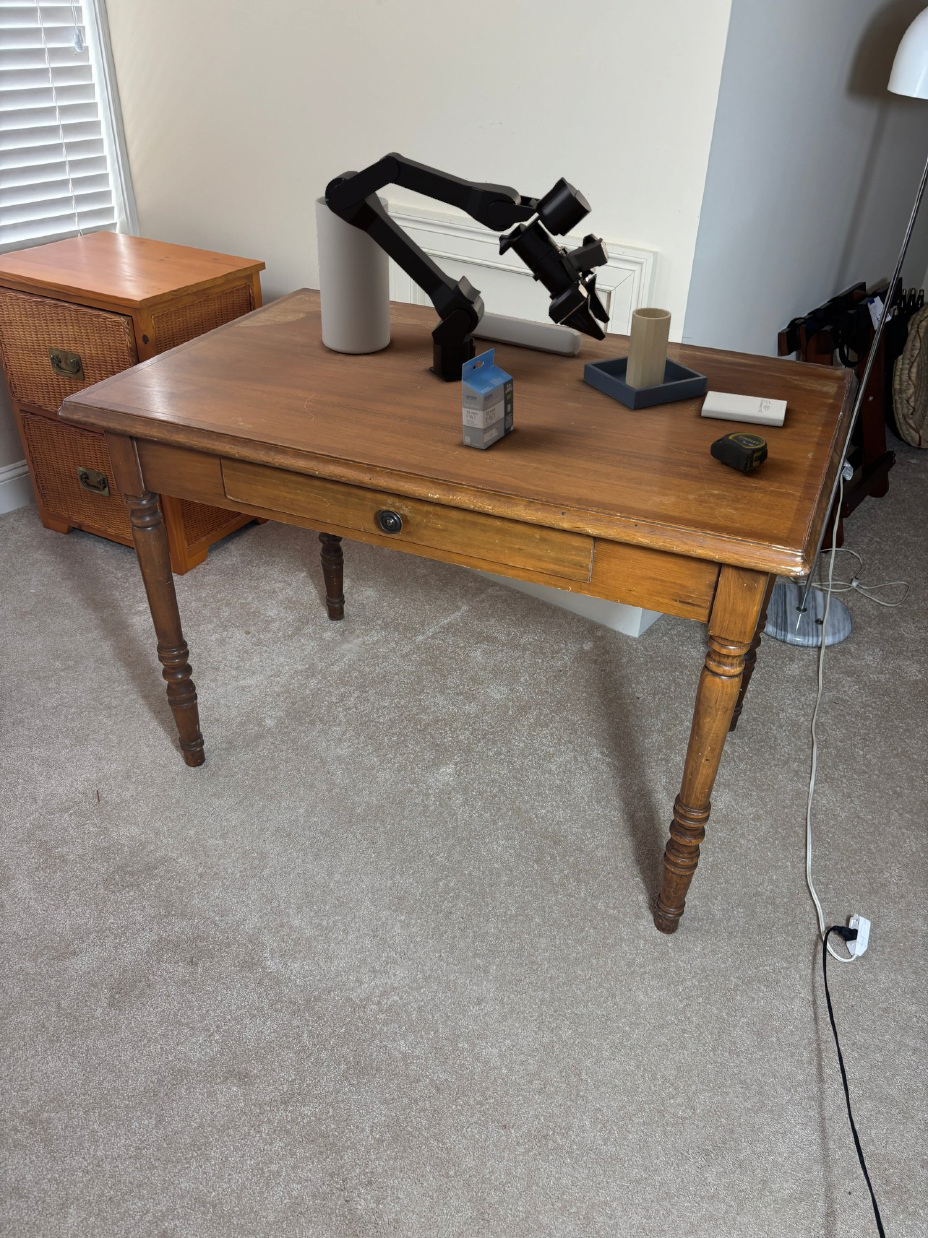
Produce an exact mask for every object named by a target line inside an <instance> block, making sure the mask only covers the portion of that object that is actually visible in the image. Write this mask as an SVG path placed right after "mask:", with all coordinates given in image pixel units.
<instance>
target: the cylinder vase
mask: <svg viewBox="0 0 928 1238" xmlns="http://www.w3.org/2000/svg"><path fill="white" fill-rule="evenodd" d="M378 197H379V200H380V202H381V204H382V206H383V208H384V210H385V212H386V213H387V214H388V215H389V200H388V199H387V198H385V197H382V196H379V195H378ZM314 203H315V220H316V223H315V224H316V239H317V241H316V242H317V260H318V278H319V279H318V280H319V281H318V282H319V299H320V315H321V316H320V317H321V335H322V343H323V345H325V347H327V348H328V349H330V350H332V351H334V352H339V353H344V354H355V355H356V354H357V355H358V354H367V353H368V354H369V353H374V352H378V351H381V350H383V349H384V348H385V349H386V347H387V346H389V344H390V342H391V308H390V307H391V303H390V299H391V298H390V256H389V255H388V254H387V253H386V252H385V251H384V250H383V249H382V248H381V247H380V246H379V245H378V244H377V243H376V242H375V241H374V240H373V239H372V238H371V237H370V236H369V235H368V234H367V233H366V232H364V231H362V230H360V229H358V228H356V227H354V226H352V225H350V224H348V223H347V222H345V221H344V220H342V219H341V218H340V217H338V216H337V215H336V214H334V213H333V212H332V211H331V210H330V209H329V208H328V206H327V204H326V202H325V195H323V196H319V197H316V199H315V200H314Z"/></svg>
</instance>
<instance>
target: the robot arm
mask: <svg viewBox="0 0 928 1238" xmlns="http://www.w3.org/2000/svg"><path fill="white" fill-rule="evenodd" d="M390 184H393V185H395V186H398V187H401V188H404V189H407V190H409V191H412V192H414V193H417V194H420V195H423V196H425V197H428V198H430V199H434V200H436V201H439V202H441V203H444V204H447V205H449V206H452V207H455V208H457V209H460V210H461V211H463V212H465V213H466V214H467V215H468V216H469V217H471V218H472V219H473V220H474V221H476V222H478V223H479V224H481V225H483V226H484V227H486V228H488V229H490V230H491V231H493V232H497V233H502V232H506V231H508V230H510V229H511V228H512V227H513V226H514V225H515V224H518V225H517V226H515V227H514V228H513V229H512V230H511V232H509V233H508V234H503V233H502V234H500V235H499V237H498V241H499V242H498V243H499V249H498V255H499V256H504V255H505V253H507V252H508V251H509V250H510V249H512V250H513V252H514V253H515V254H516V255H517V256H518V257H519V259H520V260H521V261H522V263H524V265H525V266H526V267H527V268H528V269H529V270H530V272H532V274H533V275H532V277H531V278H532V279H533V281H535V283H537V282H538V281H539V282H540V283H541V284H542V286H543V287H544V288H545V289H546V290H547V291H548V292H549V296H548V298H549V299H550V300H551V302H550V304H549V306H548V317H549V318H550V320H551V321H553V323H554V325H558V324H559V326H563V327H567V328H572V329H575V330H577V331H578V332H579V333H581V334H584V335H586V336H589V337H590V338H593V339H595V340H596V341H597V340H598V341H599V342H600V341H601V342H602V341H603V340H604V339H605V338H606V337H607V336H606V333H605V332H604V330H603V328H602V327H601V325H600V323H599V322H601V323H603V324H605V325H606V324H607V323H609V322H610V321H611V318H610V316H609V314H608V312H607V309H606V308H605V306H604V303H603V301H602V300H601V297H600V295H599V293H598V291H597V288H596V286H597V277H598V274H597V273H596V271H597V270H596V268H597V267H599V268H601V267H603V266H605V265H607V264H608V263H609V259H610V255H609V252H608V250H607V247H606V246H607V244H606V242H605V241H604V238H602V237H599V238H598V237H597V236H596V235H595V234H594V233H590V234H587V235H585V236H583V239H582V245H581V246H578V247H576V248H575V249H572V250H569V249H568V247H567V246H565V245H561V246H560V245H559V244H558V243H557V242H556V241H555V239H553V237H557V236H559V235H560V236H561V237H565V236H567V235H568V234H569V233H570V232H571V231H572V230H573V229H574V228H575V227H576V226H578V224H580V223H581V222H582V221H583V220H584V219H585V218H587V216H588V215H589V214H590V213H591V212H593V211H592V210H593V209H592V207H591V204H590V203H589V201H588V199H587V198H586V197H585V196H584V194H583V193H582V192H581V191H580V190H579V189H577V188H576V187H575V186H574V185H573V184H571V183H570V182H568V180H567V179H566V178H565V177H564V176H561V177H560V178H559V179H558V180H557V181H556V182H555V183H554V185H553V186H552V188H551V189H550V190H548V192H547V193H545V195H543V196H542V197H541V198H538V197H532V196H528V195H523V194H520V193H519V192H518V190H517V189H516V188H514V187H512V186H509V185H503V184H497V183H494V182H493V183H492V182H479V181H473V180H472V181H471V180H467V179H464V178H462V177H459V176H456V175H454V174H452V173H448V172H446V171H444V170H440V169H438V168H435V167H432V166H430V165H427V164H425V163H422V162H419V161H416V160H414V159H411V158H408V157H405V156H404V155H402V154H401V153H399V152H396V151H392V152H391V151H390V152H388V153H386V154H385V155H384V156H382V157H381V158H379V160H377V161H376V162H374V163H372V164H370V165H369V166H367V167H366V168H364V169H361V170H360V171H357V170H347V171H345V172H342V173H341V174H339V175H337V176H336V177H334V178H332V179H331V180H330V181H329V182H328V183H327V184H326V187H325V191H324V196H325V202H326V204H327V206H328V208H329V209H330V210H331V211H332V212H333V213H334V214H336V215H337V216H338V217H340V218H341V219H342V220H344V221H345V222H347V223H348V224H350V225H352V226H354V227H356V228H358V229H360V230H362V231H364V232H366V233H367V234H368V235H369V236H370V237H371V238H372V239H373V240H374V241H375V242H376V243H377V244H378V245H379V246H380V247H381V248H382V249H383V250H384V251H385V252H386V253H387V254H388V255H389V258H391V260H393V261H394V262H395V263H396V264H397V265H398V267H399V268H401V270H402V271H404V272H405V274H407V276H408V277H409V278H410V279H411V280H412V281H414V283H415V284H416V285H417V286H418V287H420V289H421V290H422V291H423V292H424V293H425V294H426V295H427V296H428V297H429V299H430V301H431V303H432V306H433V308H434V310H435V312H436V314H437V315H438V317H439V318H440V319H439V321H438V323H437V324H436V326H435V327H434V329H433V330H432V331H431V337H432V353H433V354H432V359H433V360H432V366H429V367H428V370H429V371H430V372H431V373H432V374H434V375H435V376H437V377H438V378H440V379H441V380H443V381H445V382H449V381H454V380H460V379H461V380H462V369H463V364H464V363H466V362H468V361H470V360H472V359H473V358H475V357H477V356H476V355H477V353H476V352H477V351H476V350H477V346H476V345H475V344H474V336H470V335H468V334H470V333H472V332H473V331H474V330H475V329H476V327H477V326H478V324H479V322H480V321H481V319H482V317H483V315H484V311H485V302H484V299H483V298H482V296H481V295H482V294H481V293H482V291H481V290H479V289H477V288H476V287H474V286H473V285H472V283H471V281H469V279H468V278H467V277H466V275H462V276H461V278H460V279H459V280H457V279H455V278H453V277H451V276H449V275H447V273H445V271H444V270H442V269H441V267H440V266H439V265H438V264H437V263H436V262H435V261H434V260H433V259H432V258H431V257H430V256H429V255H428V254H427V253H426V252H425V251H424V250H423V249H422V248H421V247H420V246H419V245H418V244H417V243H416V242H415V241H414V239H412V237H410V235H409V234H408V233H407V232H405V230H403V228H402V227H401V226H400V225H399V224H398V223H397V222H396V221H395V220H394V219H393V218H392V217H391V216H390V215H389V213H388V214H387V213H386V212H385V210H384V208H383V206H382V204H381V202H380V200H379V197H380V196H379V195H378V193H377V192H378V191H379V190H381V189H382V188H385V187H387V186H388V185H390ZM378 196H379V197H378ZM536 214H537V215H536ZM535 215H536V216H535ZM534 216H535V218H533V217H534ZM531 218H533V219H532V220H531ZM530 220H531V221H530ZM528 221H530V222H529V223H528V224H527V225H526V224H525V223H526V222H528ZM550 234H551V235H552V236H553V237H552V236H551V235H550ZM589 276H591V277H589ZM485 312H486V311H485ZM598 321H599V322H598ZM474 369H476V365H475V366H474V367H473V370H474Z"/></svg>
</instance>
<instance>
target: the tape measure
mask: <svg viewBox="0 0 928 1238" xmlns="http://www.w3.org/2000/svg"><path fill="white" fill-rule="evenodd" d="M768 449H769V448H768V443H767V440H766V439H765V438H764V437H762V436H760V435H758V434H755V433H751V432H746V431H736V432H735V431H734V432H729V433H726V434H724V435H723V436H721V437H720V438H718V439H716V440H714V441H713V442H712V443H711V444H710V448H709V453H710V454H709V455H711V457H712V458H714V459H715V460H717V461H719V462H722V463H723V464H726V465H728V466H730V467H731V468H735V469H737V470H739V471H742V472H744V473H747V472H749V471H750V470H752V469H757V468H759V467H761V466H762V465H763V464H764V462H765V461H766V460H767V459H768V455H769V451H768Z"/></svg>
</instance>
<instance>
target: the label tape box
mask: <svg viewBox="0 0 928 1238" xmlns="http://www.w3.org/2000/svg"><path fill="white" fill-rule="evenodd" d="M495 351H496V347H493V348H490V349H489V350H487V351H485V352H483V353H481V354H479V355H477V356H476V357H475V358H473V359H472V360H470V361H468V362H466V363H464V364H463V369H462V378H461V400H462V401H461V402H462V403H461V405H462V434H463V435H462V436H463V438H462V439H463V445H464V446H468V447H472V448H477V449H481V450H485V449H487V448H488V447H490V446H491V445H493V444H494V443H495V442H497V441H499V440H500V439H501V438H502V437H504V436H506V435H507V434H508V433H510V432H511V431H513V430H514V381H515V379H514V377H513V376H512V375H510V374H509V373H507V372H506V371H505V370H503V369H502V368H501V367H499V366H498V365H496V364H495V363H494V360H495ZM478 363H482V365H479V366H478V367H476V365H478ZM474 366H475V369H473V367H474Z"/></svg>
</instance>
